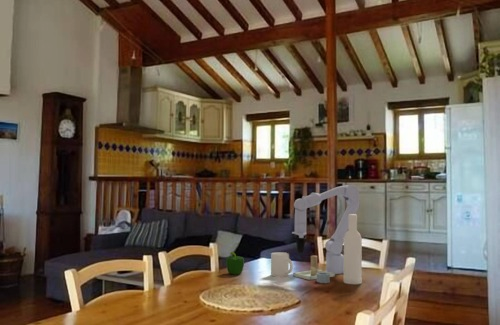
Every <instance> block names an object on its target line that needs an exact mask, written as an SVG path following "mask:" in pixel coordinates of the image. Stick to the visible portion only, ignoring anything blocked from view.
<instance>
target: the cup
mask: <svg viewBox="0 0 500 325" xmlns="http://www.w3.org/2000/svg"><path fill="white" fill-rule="evenodd" d="M330 278H331V277H330V274H329V273H321V272H320V273H317V279H316V282H317V283H320V284H328V283H329V284H330V280H331V279H330Z"/></svg>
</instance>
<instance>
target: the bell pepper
mask: <svg viewBox="0 0 500 325" xmlns="http://www.w3.org/2000/svg"><path fill="white" fill-rule="evenodd" d="M230 255H231V256H227V257H226V259H225V264H226V265H225V266H226V270H227V272H228V274H231V275H239V274H242V273H243V270H244V264H245V259H244V257H243V256H240V255H239V256H238V255H236V253H235V252H230ZM232 255H233V256H232Z"/></svg>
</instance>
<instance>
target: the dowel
mask: <svg viewBox="0 0 500 325" xmlns="http://www.w3.org/2000/svg"><path fill="white" fill-rule="evenodd" d="M317 270H318V255H310V271H311V276H316V275H317Z"/></svg>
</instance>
